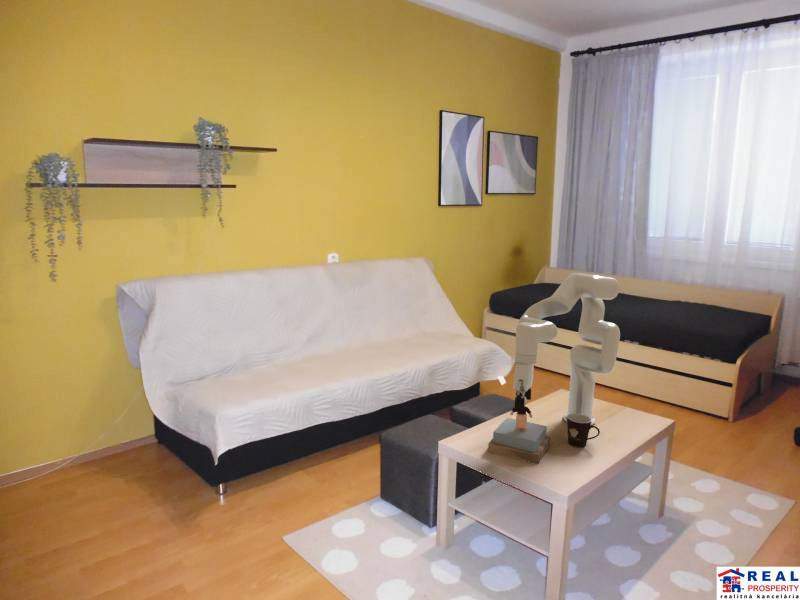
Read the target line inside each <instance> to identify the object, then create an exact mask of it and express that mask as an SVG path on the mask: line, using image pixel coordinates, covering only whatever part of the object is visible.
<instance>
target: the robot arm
mask: <svg viewBox="0 0 800 600" xmlns="http://www.w3.org/2000/svg"><path fill="white" fill-rule="evenodd" d="M620 289H621V288H620V283H619V281H618V280H617V279H616V278H614V277H609V276H603V275H602V276H601V275H597V274H596V275H595V274H589V273H588V274H587V273H581V272H572V273H570V274H569V275H567V276H566V277H565V279H564V280H563V281H562V282H561V284H560V285H559V286H558V288H556V290H555V291H554V293H553V294H552V295H551V296H550V297H547V298H544V299H542V300H539V301H538V302H536V303H534V304H532V305H531V306H530V307H528V308H527V309H526V310H525V312H524V313H523V314H522V315H521V316H520V318H519V320H518V322H517V325H516V329H515V330H516V331H515V346H514V362H515V368H514V376H513V384H512V385H513V386H512V389H513V391H515V393H514V394H515V396H514V407H515V408H519V409H524V406H525V405H524V400H525V398H524V396H525V397H526V399H527V401H531V399H532V385H533V381H534V365H536V364H537V359H538V358H537V357H538V344H539V343H549V342H551V341H553V340H555V338H557V335H558V328H557V326H556V324H555V323H553V322H552V321H549V320H545V319H544V318H547V317H552V316H558V315H564V314H568V313H569V312H571V310H572V309H573V308H574V307H575V305H576V303H577V302H578V301H579V299H580V300H581V303H582V308H581V314H580V315H581V316H580V321H579V326H578V333H577V335H578V339H580V340H581V341H582V342H586V343H589V344H593V345H594V344H595V345H598V346H601V348H599V347H595V346H591V345H587V344H575V345H574V346H573V347H571V349H570V351H569V365H570V377H569V378H570V379H569V381H570V382H569V392H568V395H569V396H568V402H567V403H568V404H567V412H566V413H563V416H562V418H563V420H564V421H565V422H566V423H567V416H568V415H569V414H582V415H586V416H588V417H590V418H591V420H592V421H591V425H590V426H594V424H596V417H594V416H593V410H594V409H593V407H594V396H595V386H596V379H595V376H594V375H595V374H594V373H597V374H599V375H600V374H601V375H603V376H604V375H610V374H611V373H612V372H613V371H614V369H615V365H616V361H617V355H618V351H619V346H620V341H621V331H620V328H619V326H618V325H617V324H616V323H614V322H610V321H605V320H604V318H605V312H606V307H605V302H604V301H603V300H605V301H606V300H607V301H611V300H613V299H615V298H617V296H618V294H619V292H620Z"/></svg>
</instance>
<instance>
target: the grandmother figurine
mask: <svg viewBox="0 0 800 600" xmlns="http://www.w3.org/2000/svg"><path fill="white" fill-rule="evenodd" d="M524 398H525V400H524V409H519V408H515V406H514V407H513V408H512V409H511V411H510V413H509V415H511V416H513V415H514V413H516V416H515V419H516V427H515V429H516V430H517V431H520V430H521V428H522V431H527V430H528V428H527V422H528V417H529V418H530V419H532V418H533V414H532V411H531V410H530V408H529V407H527V406H526V404H527V402H528V400H527V399H526V397H525V396H524ZM527 414H528V415H527ZM527 416H528V417H527Z"/></svg>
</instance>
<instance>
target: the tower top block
mask: <svg viewBox="0 0 800 600" xmlns="http://www.w3.org/2000/svg"><path fill="white" fill-rule="evenodd" d="M515 427H516V418H512V417H506V418H505V419H504V420H503V421H502V422H501V423H500V424H499V425H498V426H497V427H496V428H495V429H494V431H493V433H492V434H493V435H492V439H493V442H494V443H498V444H502V445H506V446H510V447H514V448H518V449H522V450H527V451H531V452H535V451H536V449H537V448H538V447H539V445H540V444H541V443H542V441H543V440H544V438H545V437H546V434H547V428H548V427H547V425H543V424H539V423H535V422H534V423H533V422H530V421H527V428H528V430H527V431H522V428H521V430H520V431H517V430H516V429H515Z"/></svg>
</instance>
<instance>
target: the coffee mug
mask: <svg viewBox="0 0 800 600" xmlns="http://www.w3.org/2000/svg"><path fill="white" fill-rule="evenodd" d="M591 421H592V420H591V418H590V417H588V416H586V415H582V414H569V415H568V416H567V422H566V423H567V443H568V445H570V446H572V447H574V448H585V447H586V446H587V444H588V443H587V442H588V441H590V440H592V439H595V438H597V437H599V435H600V434H601V431H600V429H599V427H597V426H596V425H591ZM590 425H591V426H590ZM591 429H595V430H597V434H596V435H595V436H594V435H593V436H592V437H591V436H590V437H589V433H590V430H591Z"/></svg>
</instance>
